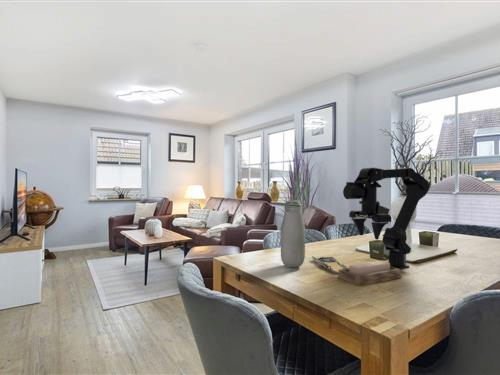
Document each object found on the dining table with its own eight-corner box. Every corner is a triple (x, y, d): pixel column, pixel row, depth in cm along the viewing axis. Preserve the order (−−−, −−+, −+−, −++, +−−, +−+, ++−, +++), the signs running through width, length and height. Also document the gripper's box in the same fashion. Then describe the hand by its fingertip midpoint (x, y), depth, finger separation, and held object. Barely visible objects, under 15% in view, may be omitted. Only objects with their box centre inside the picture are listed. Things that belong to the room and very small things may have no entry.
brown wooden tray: (379, 270, 118) (379, 262, 118) (401, 277, 109) (401, 269, 109) (338, 277, 109) (338, 269, 109) (358, 286, 100) (358, 277, 100)
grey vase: (289, 271, 117) (288, 201, 117) (276, 265, 126) (276, 199, 126) (309, 268, 121) (309, 200, 121) (296, 262, 130) (296, 199, 130)
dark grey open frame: (331, 275, 113) (355, 274, 114) (331, 266, 113) (355, 266, 114) (311, 262, 134) (332, 261, 136) (311, 254, 134) (332, 254, 136)
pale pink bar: (357, 279, 104) (357, 268, 104) (349, 276, 108) (349, 265, 108) (389, 273, 111) (389, 263, 111) (381, 270, 114) (381, 260, 114)
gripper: (403, 199, 113) (403, 240, 113) (370, 197, 131) (370, 232, 131) (378, 200, 110) (378, 242, 110) (348, 197, 128) (348, 233, 128)
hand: (368, 237), depth 120 cm, fingers open, 9 cm apart
